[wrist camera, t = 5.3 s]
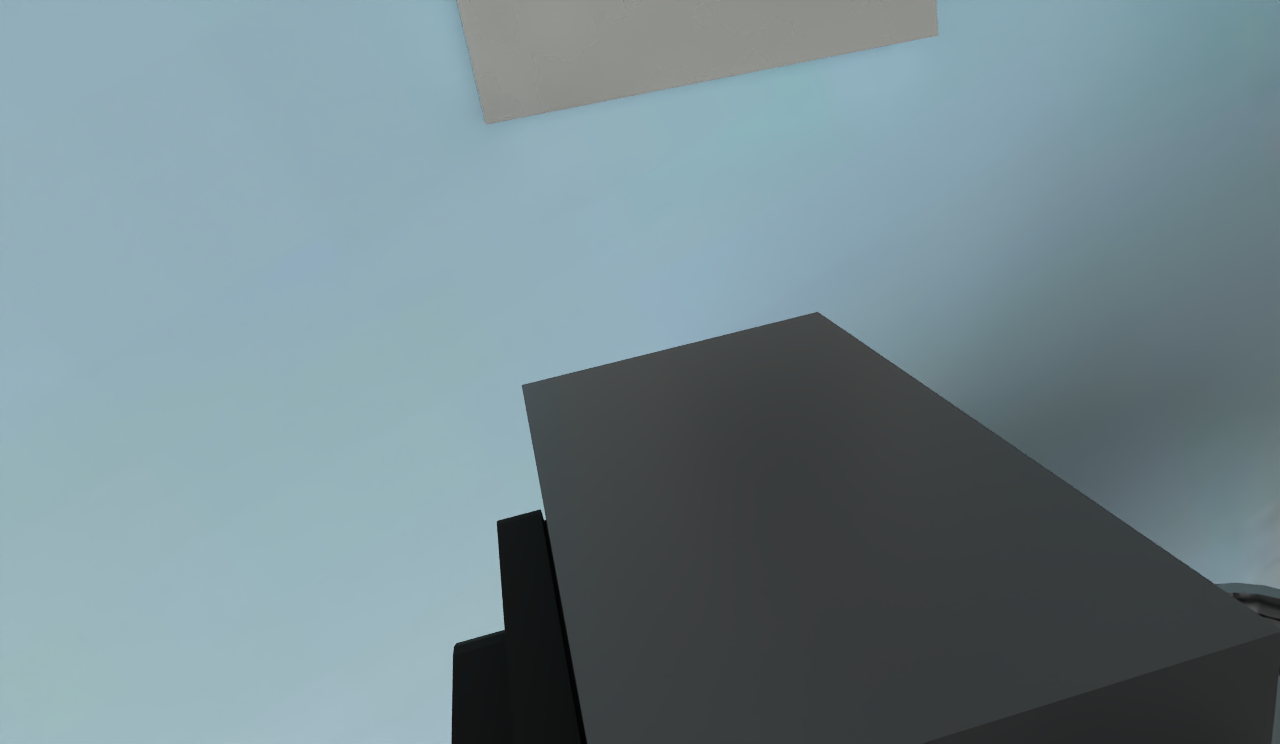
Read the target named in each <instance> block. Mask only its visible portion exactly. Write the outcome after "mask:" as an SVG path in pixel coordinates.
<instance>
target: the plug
mask: <svg viewBox="0 0 1280 744" xmlns="http://www.w3.org/2000/svg"><path fill="white" fill-rule="evenodd" d="M522 389H523V394H524V400H525V405H526V411H527V416H528V422H529V427H530V433H531V438H532V444H533V449H534V455H535V460H536V465H537V471H538V476H539V482H540V487H541V493H542V498H543V504H544V509H545V515H546V520H547V526H548V531H549V537H550V542H551V548H552V553H553V558H554V564H555V569H556V575H557V580H558V586H559V591H560V597H561V602H562V608H563V613H564V619H565V624H566V630H567V635H568V641H569V646H570V652H571V657H572V662H573V668H574V673H575V679H576V684H577V690H578V695H579V701H580V706H581V712H582V717H583V723H584V728H585V734H586V739H587V744H1272V735H1273V725H1274V715H1275V705H1276V695H1277V685H1278V675H1279V665H1280V629H1279V628H1278V627H1276V626H1275V625H1273V624H1272V623H1271V622H1269V621H1268V620H1266V619H1265V618H1263V617H1262V616H1260V615H1259V614H1257V613H1256V612H1255V611H1253V610H1252V609H1250V608H1249V607H1247V606H1246V605H1244V604H1243V603H1241V602H1240V601H1238V600H1237V599H1236V598H1234V597H1233V596H1231V595H1230V594H1228V593H1227V592H1225V591H1224V590H1222V589H1221V588H1220V587H1218V586H1217V585H1215V584H1214V583H1212V582H1211V581H1209V580H1208V579H1206V578H1205V577H1203V576H1202V575H1201V574H1199V573H1198V572H1196V571H1195V570H1193V569H1192V568H1190V567H1189V566H1187V565H1186V564H1184V563H1183V562H1182V561H1180V560H1179V559H1177V558H1176V557H1174V556H1173V555H1171V554H1170V553H1168V552H1167V551H1166V550H1164V549H1163V548H1161V547H1160V546H1158V545H1157V544H1155V543H1154V542H1152V541H1151V540H1149V539H1148V538H1147V537H1145V536H1144V535H1142V534H1141V533H1139V532H1138V531H1136V530H1135V529H1133V528H1132V527H1131V526H1129V525H1128V524H1126V523H1125V522H1123V521H1122V520H1120V519H1119V518H1117V517H1116V516H1114V515H1113V514H1112V513H1110V512H1109V511H1107V510H1106V509H1104V508H1103V507H1101V506H1100V505H1098V504H1097V503H1096V502H1094V501H1093V500H1091V499H1090V498H1088V497H1087V496H1085V495H1084V494H1082V493H1081V492H1079V491H1078V490H1077V489H1075V488H1074V487H1072V486H1071V485H1069V484H1068V483H1066V482H1065V481H1063V480H1062V479H1061V478H1059V477H1058V476H1056V475H1055V474H1053V473H1052V472H1050V471H1049V470H1047V469H1046V468H1044V467H1043V466H1042V465H1040V464H1039V463H1037V462H1036V461H1034V460H1033V459H1031V458H1030V457H1028V456H1027V455H1026V454H1024V453H1023V452H1021V451H1020V450H1018V449H1017V448H1015V447H1014V446H1012V445H1011V444H1009V443H1008V442H1007V441H1005V440H1004V439H1002V438H1001V437H999V436H998V435H996V434H995V433H993V432H992V431H991V430H989V429H988V428H986V427H985V426H983V425H982V424H980V423H979V422H977V421H976V420H974V419H973V418H972V417H970V416H969V415H967V414H966V413H964V412H963V411H961V410H960V409H958V408H957V407H956V406H954V405H953V404H951V403H950V402H948V401H947V400H945V399H944V398H942V397H941V396H939V395H938V394H937V393H935V392H934V391H932V390H931V389H929V388H928V387H926V386H925V385H923V384H922V383H921V382H919V381H918V380H916V379H915V378H913V377H912V376H910V375H909V374H907V373H906V372H904V371H903V370H902V369H900V368H899V367H897V366H896V365H894V364H893V363H891V362H890V361H888V360H887V359H886V358H884V357H883V356H881V355H880V354H878V353H877V352H875V351H874V350H872V349H871V348H869V347H868V346H867V345H865V344H864V343H862V342H861V341H859V340H858V339H856V338H855V337H853V336H852V335H851V334H849V333H848V332H846V331H845V330H843V329H842V328H840V327H839V326H837V325H836V324H834V323H833V322H832V321H830V320H829V319H827V318H826V317H824V316H823V315H821V314H820V313H818V312H816V313H812V314H808V315H804V316H800V317H796V318H792V319H788V320H784V321H779V322H775V323H771V324H767V325H763V326H759V327H755V328H751V329H747V330H743V331H739V332H735V333H731V334H727V335H723V336H719V337H715V338H711V339H707V340H703V341H699V342H695V343H691V344H686V345H682V346H678V347H674V348H670V349H666V350H662V351H658V352H654V353H650V354H646V355H642V356H638V357H634V358H630V359H626V360H622V361H618V362H614V363H610V364H606V365H602V366H598V367H593V368H589V369H585V370H581V371H577V372H573V373H569V374H565V375H561V376H557V377H553V378H549V379H545V380H541V381H537V382H533V383H529V384H525V385H522Z"/></svg>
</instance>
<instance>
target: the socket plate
mask: <svg viewBox="0 0 1280 744" xmlns="http://www.w3.org/2000/svg"><path fill="white" fill-rule="evenodd" d="M456 1H457V5H458V9H459V13H460V18H461V22H462V26H463V31H464V35H465V39H466V43H467V48H468V52H469V56H470V61H471V65H472V69H473V74H474V78H475V82H476V86H477V91H478V95H479V99H480V104H481V108H482V112H483V116H484V121H485V123H486V124H491V123H496V122H501V121H506V120H511V119H516V118H521V117H526V116H531V115H536V114H541V113H547V112H552V111H557V110H562V109H567V108H572V107H577V106H582V105H587V104H592V103H597V102H602V101H607V100H613V99H618V98H623V97H628V96H633V95H638V94H643V93H648V92H653V91H658V90H663V89H668V88H673V87H679V86H684V85H689V84H694V83H699V82H704V81H709V80H714V79H719V78H724V77H729V76H734V75H739V74H745V73H750V72H755V71H760V70H765V69H770V68H775V67H780V66H785V65H790V64H795V63H800V62H805V61H811V60H816V59H821V58H826V57H831V56H836V55H841V54H846V53H851V52H856V51H861V50H866V49H871V48H876V47H882V46H887V45H892V44H897V43H902V42H907V41H912V40H917V39H922V38H927V37H932V36H937V35H938V21H937V4H936V0H456Z"/></svg>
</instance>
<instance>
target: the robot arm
mask: <svg viewBox="0 0 1280 744" xmlns="http://www.w3.org/2000/svg"><path fill="white" fill-rule="evenodd" d="M497 531H498V544H499V558H500V571H501V585H502V598H503V612H504V625H505V630H503V631H499V632H495V633H492V634H488V635H485V636H481V637H477V638H474V639H470V640H467V641H463V642H460V643H456V645H455V646H454V652H453V692H452V744H587V739H586V734H585V728H584V723H583V717H582V712H581V706H580V701H579V695H578V690H577V684H576V679H575V673H574V668H573V662H572V657H571V652H570V646H569V641H568V635H567V630H566V624H565V619H564V613H563V608H562V602H561V597H560V591H559V586H558V580H557V575H556V569H555V564H554V558H553V553H552V548H551V542H550V537H549V531H548V526H547V520H544V519H543V516H542V512H541V510H537V511H533V512H529V513H525V514H522V515H518V516H514V517H510V518H506V519H503V520H499V521H497ZM1215 585H1217V586H1218V587H1220V588H1221V589H1222V590H1224V591H1225V592H1227V593H1228V594H1230V595H1231V596H1233V597H1234V598H1236V599H1237V600H1238V601H1240V602H1241V603H1243V604H1244V605H1246V606H1247V607H1249V608H1250V609H1252V610H1253V611H1255V612H1256V613H1257V614H1259V615H1260V616H1262V617H1263V618H1265V619H1266V620H1268V621H1269V622H1271V623H1272V624H1273V625H1275V626H1276V627H1278V628H1279V629H1280V589H1276V588H1272V587H1268V586H1263V585H1253V584H1243V583H1226V584H1215ZM1272 744H1280V665H1279V675H1278V685H1277V695H1276V705H1275V715H1274V725H1273V735H1272Z"/></svg>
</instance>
